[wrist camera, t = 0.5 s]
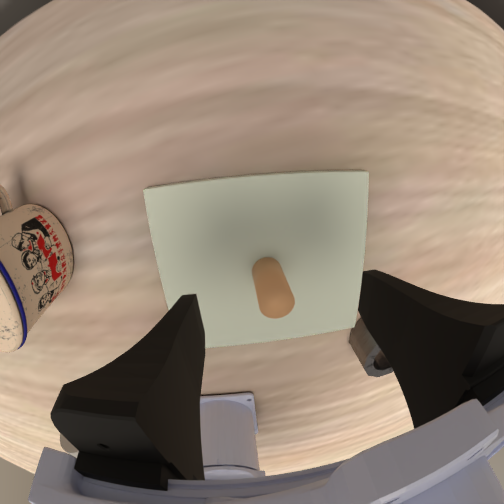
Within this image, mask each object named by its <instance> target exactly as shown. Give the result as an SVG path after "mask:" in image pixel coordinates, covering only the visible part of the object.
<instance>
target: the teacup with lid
mask: <svg viewBox="0 0 504 504" xmlns="http://www.w3.org/2000/svg"><path fill="white" fill-rule="evenodd" d="M0 209H1V212H2V216H0V352H13V351H15V350H17V349H19V348H20V347H22V346H23V344H24V343H25V340H26V337H27V333H28V332H29V331H30V329H31V328H32V327H33V325H34V324H35V323H36V322H37V320H38V319H39V318H40V317H41V315H42V314H43V313H44V312H45V310H46V309H47V308H48V307H49V306H50V304H51V303H52V302H53V301H54V300H55V298H56V297H57V296H58V295H59V294H60V293H61V292H62V290H63V289H64V288H65V287H66V286H67V284H68V282H69V280H70V278H71V275H72V270H73V254H72V249H71V245H70V242H69V239H68V237H67V234H66V232H65V230H64V228H63V227H62V225H61V224H60V222H59V221H58V220H57V218H56V217H55V216H54V215H53V214H52V213H51V212H49V211H48V210H46V209H45V208H43V207H41V206H38V205H34V204H27V205H23V206H21V207H19V208H16V209H14V210H13V209H12V205H11V202H10V199H9V196H8V194H7V192H6V190H5V189H4V188H3V187H2V186H1V185H0Z"/></svg>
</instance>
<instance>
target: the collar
mask: <svg viewBox="0 0 504 504" xmlns="http://www.w3.org/2000/svg"><path fill="white" fill-rule="evenodd" d="M349 343H350V344H351V346H352V348H353V350H354V352H355V353H356V355H357V357H358V359H359V361H360V362H361V364H362V366H363V368H364V370H365V371H366V373H367V374H368V376H375V377H380V376H383V375H386V374H389V373H391V372H393V369H392V367H391V365H390V363H389V362H388V360H387V358H386V357H385V355H384V354H383V352H382V351H381V349H380V348H379V346H378V345H377V343H376V342H375V340H374V339H373V337H372V335H371V334H370V332H369V331H368V329H367V328H366V326H365V324H364V322H363V320H362V318H360V319H359V320H358V322H357V323H356V325H355V327H353V329H352V330H351V334H350V339H349Z"/></svg>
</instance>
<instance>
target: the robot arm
mask: <svg viewBox="0 0 504 504" xmlns="http://www.w3.org/2000/svg"><path fill="white" fill-rule="evenodd" d="M358 311H359V313H360V315H361V317H362V320H363V322H364V324H365V326H366V328H367V329H368V331H369V332H370V334H371V335H372V337H373V339H374V340H375V342H376V343H377V345H378V346H379V348H380V349H381V351H382V352H383V354H384V355H385V357H386V358H387V360H388V362H389V363H390V365H391V367H392V369H393V371H394V373H395V375H396V377H397V379H398V382H399V384H400V386H401V389H402V391H403V394H404V396H405V399H406V402H407V405H408V408H409V411H410V414H411V417H412V421H413V425H414V429H413V430H411V431H409V432H406V433H404V434H402V435H399V436H397V437H394V438H392V439H389V440H387V441H384V442H382V443H380V444H378V445H376V446H373V447H371V448H369V449H366V450H364V451H362V452H360V453H358V454H357V455H355V456H353V457H352V458H350V459H346V460H343V461H339V462H336V463H332V464H328V465H324V466H320V467H316V468H311V469H307V470H302V471H296V472H291V473H285V474H279V475H272V476H265V471H260V468H259V461H258V453H257V446H256V438H255V434H257V433H258V427H257V419H256V411H255V403H254V395H253V393H240V394H228V395H214V396H200V394H201V385H202V376H203V368H204V359H205V330H204V326H203V322H202V317H201V313H200V308H199V304H198V299H197V294H188V295H182V296H181V297H180V298H179V299H178V300H177V301H176V303H175V304H174V305H173V306H172V307H171V309H170V310H169V311H168V312H167V313H166V315H165V316H164V317H163V318H162V319H161V320H160V321H159V322H158V323H157V324H156V325H155V327H154V328H153V329H152V330H151V331H150V332H149V333H148V334H147V335H146V336H145V337H144V338H142V339H141V340H140V341H139V342H138V343H137V344H135V345H134V346H133V347H132V348H131V349H129V350H128V351H127V352H125V353H124V354H122V355H121V356H119V357H118V358H116V359H115V360H113V361H112V362H110V363H109V364H107V365H105V366H104V367H102V368H100V369H98V370H96V371H94V372H92V373H90V374H88V375H86V376H84V377H82V378H79V379H77V380H74V381H72V382H70V383H67V384H64V385H63V387H62V389H61V391H60V393H59V396H58V398H57V400H56V402H55V404H54V407H53V409H52V411H51V419H52V421H53V424H54V426H55V427H56V428H57V429H58V431H59V432H60V433H61V434H62V435H63V436H64V437H65V438H66V439H67V440H68V441H69V442H70V443H71V444H72V445H73V446H74V447H75V448H76V449H77V450H78V451H79V452H78V456H77V458H76V457H74V456H72V455H70V454H67V453H65V452H61V451H58V450H55V449H51V448H48V447H44V449H43V451H42V454H41V457H40V460H39V463H38V466H37V470H36V473H35V476H34V480H33V483H32V487H31V491H30V494H29V498H28V501H29V502H30V503H31V504H504V490H503V488H502V486H501V484H500V482H499V480H498V478H497V477H496V475H495V473H494V471H493V469H492V468H491V466H490V464H489V462H488V461H487V460H488V459H490V458H491V457H492V456H493V455H494V454H496V453H497V452H498V451H499V450H500V449H501V448H502V447H504V304H483V303H475V302H468V301H463V300H458V299H454V298H450V297H446V296H443V295H439V294H436V293H433V292H430V291H428V290H425V289H422V288H420V287H417V286H415V285H412V284H410V283H408V282H405V281H403V280H401V279H398V278H396V277H393V276H391V275H389V274H386V273H383V272H381V271H377V270H369V271H363V273H362V283H361V291H360V299H359V307H358Z"/></svg>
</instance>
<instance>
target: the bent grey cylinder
mask: <svg viewBox="0 0 504 504" xmlns="http://www.w3.org/2000/svg"><path fill="white" fill-rule="evenodd" d="M60 443H61V446H62V448H63V450H65V451H66V452H67V453H69V454H70V455H72V456H74V457H76V458H77V456H78V452H79V451H78V450H77V449H76V448H75V447H74V446H73V445H72V444H71V443H70V442H69V441H68V440H67V439H66V438H65V437H64V436H63V435H62V434H60Z"/></svg>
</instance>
